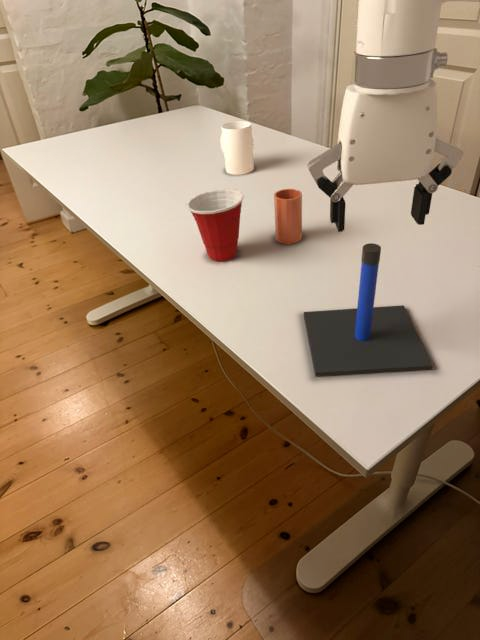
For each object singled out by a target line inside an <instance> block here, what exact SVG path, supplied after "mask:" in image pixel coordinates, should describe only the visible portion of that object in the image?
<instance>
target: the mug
mask: <svg viewBox="0 0 480 640" xmlns="http://www.w3.org/2000/svg"><path fill="white" fill-rule="evenodd" d="M252 129H253V127H252V123H251V122H250V121H245V120H237V121H236V120H235V121H230V122H229V121H228V122H225V123H223V124H222V125H221V135H220V140H219V141H220V142H219V143H220V149H221V151H222V154H223V155H224V156H223V157H224V163H225V164H224V167H225V172H226V173H227V174H229V175H235V176H240V175H246V174H249V173H251V172H253V171H254V169H255V163H254V162H255V161H254V143H253V142H254V138H253V130H252Z"/></svg>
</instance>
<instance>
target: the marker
mask: <svg viewBox="0 0 480 640" xmlns="http://www.w3.org/2000/svg"><path fill="white" fill-rule="evenodd" d="M361 249H362V250H361V265H360V275H359V285H358V297H357V306H356V309H357V316H356V327H355V338H356V339H357V340H359V341H367V340H369V338H370V332H371V324H372V316H373V307H375V298H376V290H377V280H378V275H379V266H380V261H381V253H382V247H381V246H380V245H379V244H377V243H371V242H370V243H366V244H364V245H363V246H362V248H361Z"/></svg>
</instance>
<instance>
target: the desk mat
mask: <svg viewBox="0 0 480 640" xmlns="http://www.w3.org/2000/svg"><path fill="white" fill-rule="evenodd" d="M356 316H357V308H345V309H343V308H342V309H330V310H329V309H328V310H314V311H303V319H304V326H305V330H306V335H307V341H308V345H309V351H310V356H311V362H312V367H313V372H314V376H315V377H330V376H345V375H362V374H363V375H364V374H378V373H379V374H380V373H396V372H411V371H429V370H433V367H434V365H433V363H432V360H431V359H430V356H429V355H428V352H427V350H426V348H425V346H424V344H423V342H422V340H421V338H420V336H419V334H418V332H417V330H416V328H415V326H414V324H413V322H412V319H411V318H410V316H409V314H408V311H407V309H406V308H405V305H389V306H388V305H387V306H374V307H373V316H372V324H371V332H370V338H369V340H367V341H359V340H357V339H356V338H355V327H356Z"/></svg>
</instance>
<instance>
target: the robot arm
mask: <svg viewBox="0 0 480 640" xmlns="http://www.w3.org/2000/svg"><path fill="white" fill-rule="evenodd" d="M447 2H465V3H467V2H468V3H480V0H358V4H357V5H358V6H357V8H358V9H357V25H356V42H355V43H356V46H355V62H354V63H355V64H354V80H353V81H354V82H353V83H354V84H349V85H347V86H346V88H345V90H344V95H343V99H342V105H341V111H340V119H339V126H338V136H337V144H336V145H333V146H332V147H330V148H328V149H327V150H326V151H324V152H322V153H320V154H319V155H317V156H316V157H314V158H312V159H311V160H309V161H308V162H307V169H308V171H309V173H310V175H311V176H312V178H313V180H314V182H315V184H316V185H317V187H318V189H319V190H321V191H322V192H323V193H324V194H325V195H326V196H328V197H329V198H330V203H329V220H330V223H331V224H334V225H335V227H336V230H337V232H338V233H342V232H343V231H345V223H346V201H345V197H344V196H345V195H346V194H347V193H348V192H349V190H350V189H352V187H353V186H362V185H373V184H385V183H387V184H388V183H396V182H406V181H414V180H418V183H416V184H415V186H414V188H413V194H412V202H411V207H410V215H411V217H412V218H413V220H414V221H415V223H416V224H417V225H418V226H422V225H424V224H425V222H426V221H425V220H426V216H427V215H429V214H430V209H431V204H432V198H433V194H434V193H435V192H437V191H438V188H439V186H440V185H441V184H443V182H445V181H446V180H447V179H448V178H449V177H450V176H451V175H452V172H453V169H454V168H455V167H456V166H457V165H458V163H459V162H460V160H461V159H462V157H463V156H464V150H462V148H460V147H459V146H457V145H455V144H453V143H450V142H448V141H446V140H444V139H442V138H440V137H438V136H437V126H438V125H437V123H438V121H437V120H438V102H437V101H438V99H437V98H438V96H437V95H438V94H437V93H438V92H437V82H435V80H434V79H433V78H434V73H435V70H438V69H439V68H445V67H447V64H448V59H449V58H448V57H449V56H448V53H447V52H446V51H445V52H440V51H438V48H437V47H436V43H437V37H438V31H439V22H440V18H441V17H440V16H441V8H442V5H443V4H445V3H447ZM435 152H437V153H438V154H441V155H443V157H442V160H441V162H440V163H439V164H437V165H436V166H435V167H434V168H432V167H433V162H434V157H435ZM335 163H336V170H337V171H338V174H337V175H336V176H335V177H334V178H333V180H332V181H331V179H329V178H328V177H327V176H326V175H325V173H324V170H325V169H326V168H328V167H330V166H331V165H332V164H335Z"/></svg>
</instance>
